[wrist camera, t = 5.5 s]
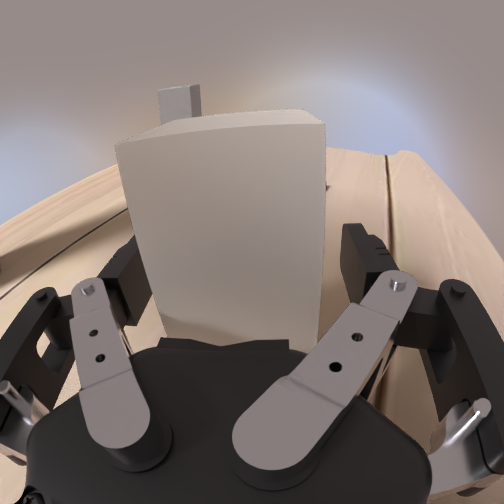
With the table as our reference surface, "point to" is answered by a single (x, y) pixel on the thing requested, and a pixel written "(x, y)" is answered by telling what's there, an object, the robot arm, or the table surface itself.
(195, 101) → the skincare box
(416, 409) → the table surface
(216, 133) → the cream block
